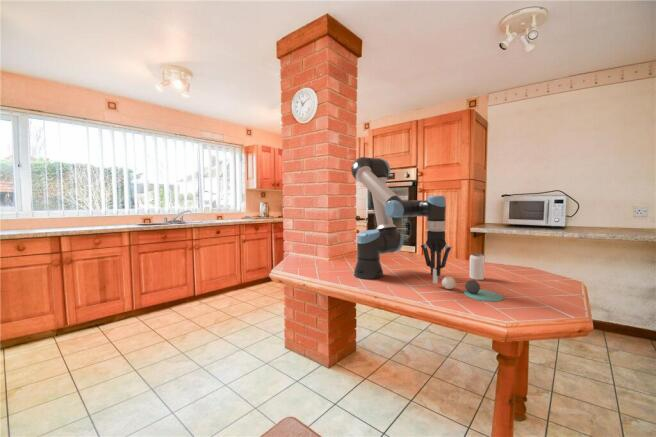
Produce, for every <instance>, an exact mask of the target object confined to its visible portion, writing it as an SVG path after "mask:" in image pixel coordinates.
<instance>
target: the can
mask: <svg viewBox="0 0 656 437" xmlns="http://www.w3.org/2000/svg"><path fill="white" fill-rule="evenodd" d="M485 264H486V260H485V256H484V254H483V253H482V254H481V253H471V254H470V256H469V278H470V280H474V281H483V280H484V279H485V267H486V266H485Z"/></svg>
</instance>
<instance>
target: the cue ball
mask: <svg viewBox="0 0 656 437" xmlns="http://www.w3.org/2000/svg"><path fill="white" fill-rule="evenodd" d="M441 285H442V287H444V289H446V290H452V289H453V288H455V286H456V280H455V279H454V278H453V277H452V276H450V275H449V276H448V275H447V276H444V277H443V278H442V279H441Z"/></svg>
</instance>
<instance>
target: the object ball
mask: <svg viewBox="0 0 656 437" xmlns="http://www.w3.org/2000/svg"><path fill="white" fill-rule="evenodd" d="M464 288H465V291H466V290H467V291H468V292H469V293H472V294H475V293H478V292H479V290H481V284H479V282H478V281H477V280H473V279H470V280H467V282H466V283H465V286H464Z"/></svg>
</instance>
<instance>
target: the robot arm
mask: <svg viewBox="0 0 656 437" xmlns="http://www.w3.org/2000/svg"><path fill="white" fill-rule="evenodd" d="M350 172H351V175H352V177H353V179H355V181H357V182H358V183H362V185H364V187H365V188H366V189H367V190H369V192H370V193H371V196H372V198H371V199H372V203H373V208H374V213H375V219H376V226H377V227H376V228H375V229H368V230H367V229H366V230H362V231H360V232H358V233H357V237H356V243H357V244H356V245H357V246H356V247H357V248H356V251H357V253H356V255H357V256H356V258H357V259H356V264H355V267H354V270H353V276H354V277H356V278H359V279H365V280H370V279H371V280H375V279H380V278H382V277H384V270H383V267H382V264H381V260H380V258H381V257H380V256H381V255H383V254H392V253H396V252H398V251H400V250H401V248H402V247H403V245H404V235H403V233H401V231H399V230H398V227H397V226H396V225H395V224H394V221H393V218H394V219H396V218H408V217H409V218H410V217H427V221H426V222H427V223H426V224H427V226H426V227H427V228H426V229H427V232H426V242H425V243H424V244H422V245H420V247H421V250H422V251H423V255H424V259H425V264H426V266H427V267H429V268H430V275H431V276H432V283H433V284H438V283H439V277H440V276H441V269H444V268H445V267H446V265H447V261H448V258H449V254H450V251H451V250H452V246H449V245H448V244H447V242H446V231H445V230H446V210H447V204H446V197H445V196H444V195H429V196H427V199H426V200H419V199H418V200H416V199H415V200H414V199H413V200H403V199H401V197H399V195H397V194H396V193H395V192H394V191H393V190H392V189H391V188H390V187H389V186H388V185H386V183H387V182H388V177H389V176H390V173H391V166H390V163H388V161H387V160H386V159H384V158H379V157H366V156H365V157H364V156H363V157H362V156H361V157H357V158H356V159H355V160H354V161H353V162H352V164H351V167H350ZM429 250H430V251H429ZM442 250H444V252H443V257H442Z"/></svg>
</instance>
